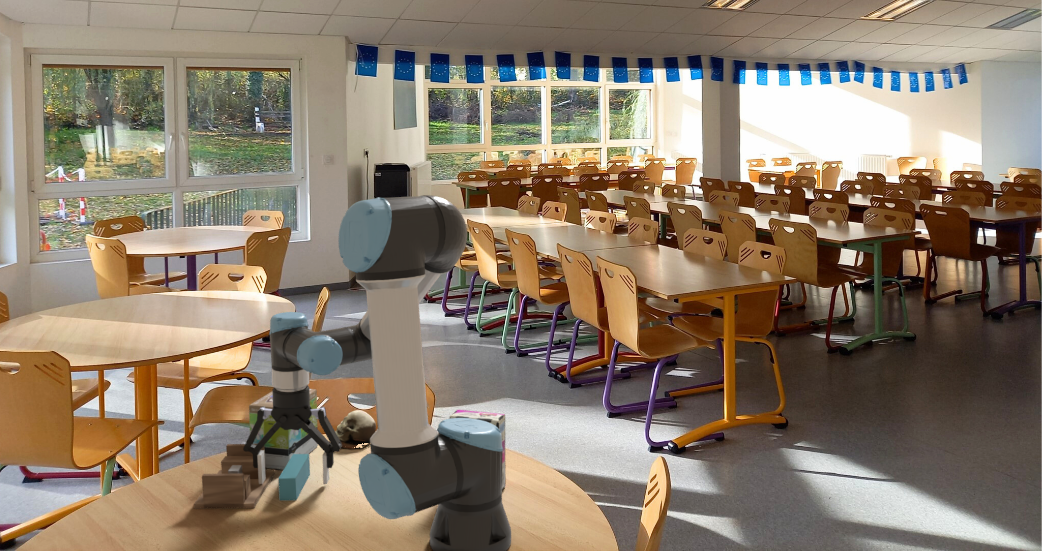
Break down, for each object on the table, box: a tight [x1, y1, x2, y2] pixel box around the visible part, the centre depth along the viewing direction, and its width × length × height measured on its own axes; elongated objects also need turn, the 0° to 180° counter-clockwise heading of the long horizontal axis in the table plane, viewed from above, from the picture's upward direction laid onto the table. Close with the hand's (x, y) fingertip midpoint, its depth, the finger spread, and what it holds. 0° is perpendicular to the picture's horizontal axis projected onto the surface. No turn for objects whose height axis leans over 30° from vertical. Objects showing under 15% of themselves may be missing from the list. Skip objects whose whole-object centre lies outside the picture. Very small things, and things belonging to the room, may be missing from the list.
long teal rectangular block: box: [277, 453, 311, 501], centre depth 182 cm, size 13×4×5 cm, turn 1°
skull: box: [334, 409, 377, 450], centre depth 210 cm, size 12×10×10 cm
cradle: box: [193, 443, 276, 510], centre depth 180 cm, size 17×12×7 cm
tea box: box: [248, 388, 319, 471], centre depth 198 cm, size 15×10×15 cm, turn 168°
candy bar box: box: [448, 409, 507, 491], centre depth 182 cm, size 11×5×16 cm, turn 73°
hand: (294, 481), depth 183 cm, fingers open, 13 cm apart
